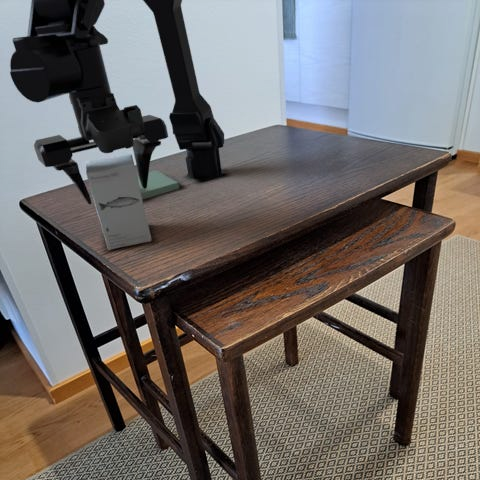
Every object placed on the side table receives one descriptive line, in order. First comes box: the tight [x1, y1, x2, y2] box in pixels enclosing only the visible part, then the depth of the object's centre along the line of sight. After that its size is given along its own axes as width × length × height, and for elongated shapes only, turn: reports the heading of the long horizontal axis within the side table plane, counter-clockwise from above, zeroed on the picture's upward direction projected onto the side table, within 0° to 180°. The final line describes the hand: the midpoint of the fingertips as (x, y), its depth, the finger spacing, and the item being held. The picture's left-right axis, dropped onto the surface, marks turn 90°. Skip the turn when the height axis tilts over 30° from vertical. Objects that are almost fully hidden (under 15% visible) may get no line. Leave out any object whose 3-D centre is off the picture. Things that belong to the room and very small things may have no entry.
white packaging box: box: [85, 153, 153, 251], centre depth 72 cm, size 7×7×13 cm
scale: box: [137, 170, 180, 200], centre depth 94 cm, size 14×13×3 cm
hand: (117, 195), depth 71 cm, fingers open, 9 cm apart
